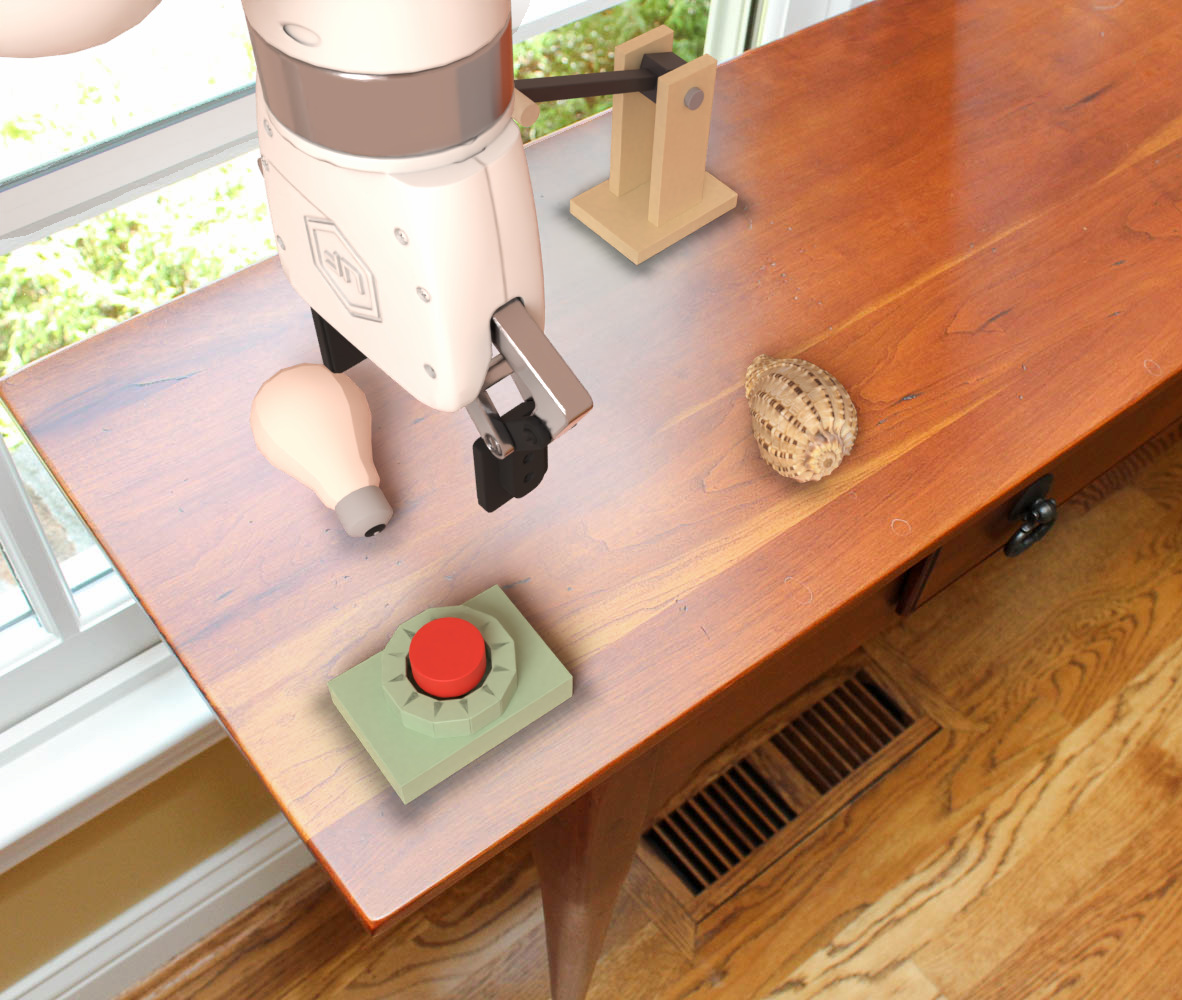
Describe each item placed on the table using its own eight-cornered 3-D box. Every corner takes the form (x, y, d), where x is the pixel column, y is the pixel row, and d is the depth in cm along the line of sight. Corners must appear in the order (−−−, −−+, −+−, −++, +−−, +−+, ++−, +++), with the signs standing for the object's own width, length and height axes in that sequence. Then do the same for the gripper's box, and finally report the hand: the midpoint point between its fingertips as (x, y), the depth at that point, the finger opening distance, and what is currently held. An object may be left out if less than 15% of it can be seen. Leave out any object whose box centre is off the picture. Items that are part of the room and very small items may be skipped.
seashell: (709, 452, 79) (805, 509, 72) (692, 370, 76) (792, 421, 69) (801, 405, 83) (902, 455, 76) (789, 325, 79) (894, 369, 72)
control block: (405, 805, 60) (396, 771, 57) (332, 702, 63) (320, 664, 60) (572, 696, 65) (573, 659, 62) (498, 604, 67) (495, 564, 64)
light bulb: (422, 487, 66) (325, 323, 68) (308, 548, 64) (212, 378, 66) (437, 520, 72) (348, 370, 74) (334, 577, 70) (246, 421, 72)
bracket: (636, 265, 85) (647, 109, 75) (569, 212, 87) (570, 54, 77) (736, 206, 90) (758, 52, 80) (670, 158, 92) (683, 2, 82)
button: (437, 711, 59) (434, 694, 58) (398, 658, 61) (394, 641, 59) (500, 672, 61) (499, 655, 60) (461, 622, 62) (458, 604, 61)
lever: (516, 136, 69) (525, 96, 67) (459, 92, 71) (467, 53, 69) (699, 112, 81) (710, 77, 79) (647, 75, 82) (657, 41, 81)
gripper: (110, -33, 38) (229, 348, 52) (479, 262, 32) (504, 603, 46) (315, -105, 42) (376, 268, 55) (678, 149, 36) (646, 495, 50)
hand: (434, 420), depth 51 cm, fingers open, 9 cm apart
